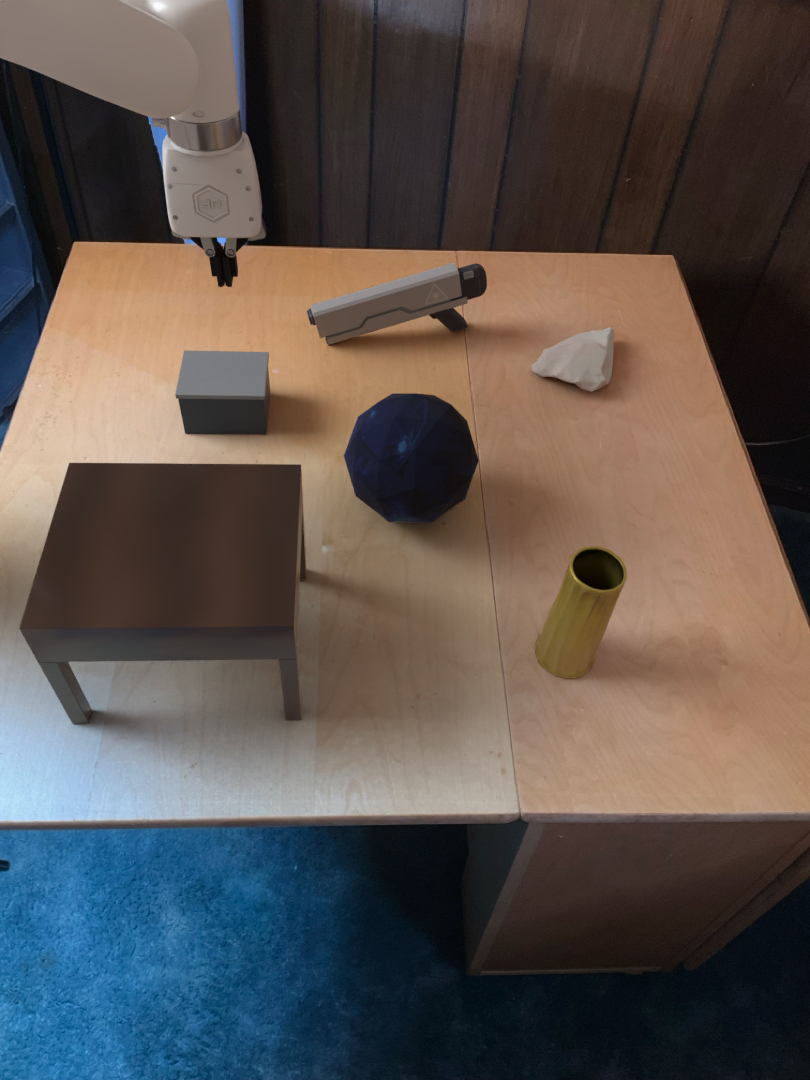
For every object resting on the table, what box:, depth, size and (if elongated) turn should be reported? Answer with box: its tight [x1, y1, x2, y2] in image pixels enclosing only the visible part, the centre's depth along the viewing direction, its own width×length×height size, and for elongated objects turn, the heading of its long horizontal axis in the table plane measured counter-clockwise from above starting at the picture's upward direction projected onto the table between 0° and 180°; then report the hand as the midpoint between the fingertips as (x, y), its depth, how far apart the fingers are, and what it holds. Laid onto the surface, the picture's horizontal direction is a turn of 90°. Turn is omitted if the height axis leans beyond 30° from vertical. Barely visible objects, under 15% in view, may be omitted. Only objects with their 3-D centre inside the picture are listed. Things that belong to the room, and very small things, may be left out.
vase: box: [534, 545, 628, 679], centre depth 77 cm, size 6×6×14 cm
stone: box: [530, 326, 615, 392], centre depth 112 cm, size 11×4×15 cm
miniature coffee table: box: [18, 462, 308, 725], centre depth 75 cm, size 21×20×16 cm
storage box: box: [174, 349, 271, 436], centre depth 100 cm, size 10×8×6 cm
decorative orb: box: [343, 392, 480, 524], centre depth 89 cm, size 14×15×15 cm
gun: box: [306, 262, 488, 346], centre depth 112 cm, size 2×25×10 cm, turn 104°
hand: (226, 280), depth 98 cm, fingers closed
